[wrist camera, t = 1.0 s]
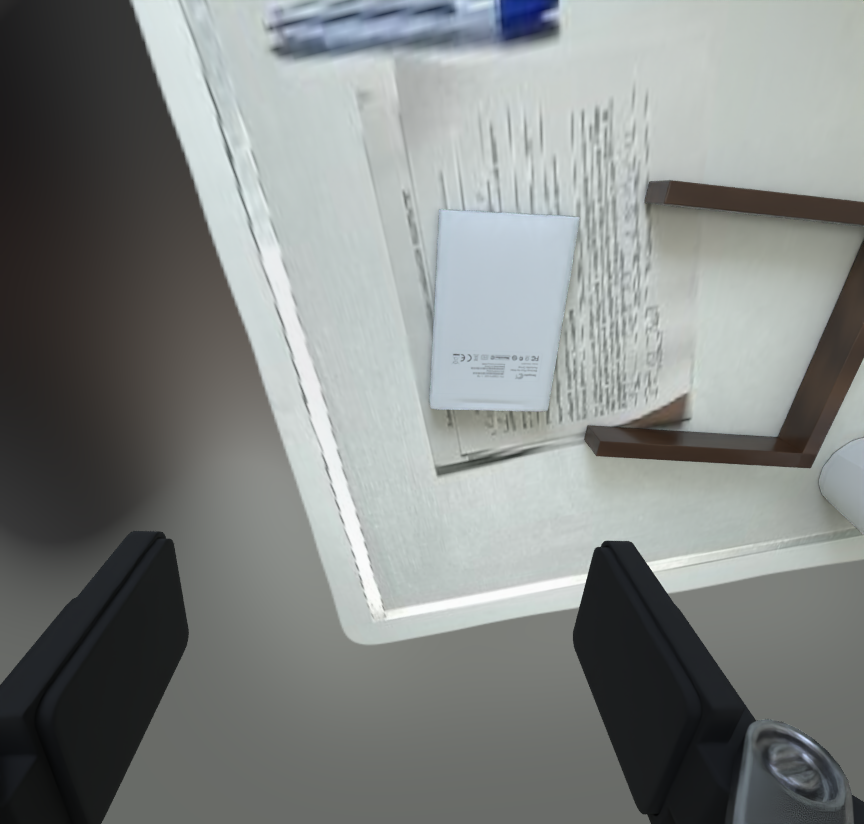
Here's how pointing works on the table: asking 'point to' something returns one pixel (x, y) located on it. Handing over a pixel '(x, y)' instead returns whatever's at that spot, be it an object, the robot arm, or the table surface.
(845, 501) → the foam cup
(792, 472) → the table surface
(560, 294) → the hard drive
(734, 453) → the dock
